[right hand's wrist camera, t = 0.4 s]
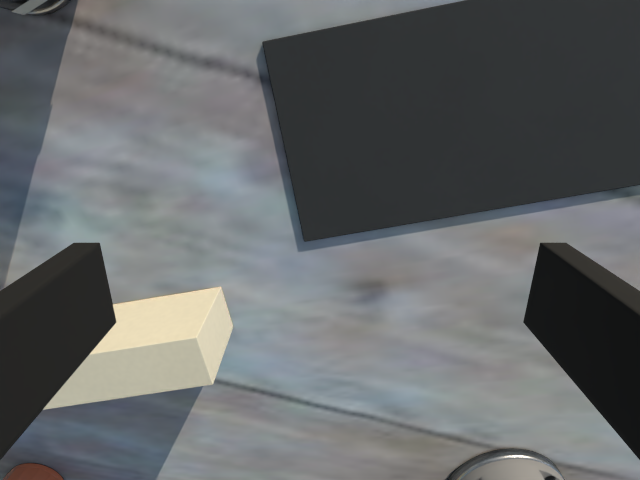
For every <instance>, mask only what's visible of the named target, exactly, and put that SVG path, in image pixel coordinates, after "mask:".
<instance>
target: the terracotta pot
mask: <svg viewBox="0 0 640 480" xmlns="http://www.w3.org/2000/svg"><path fill="white" fill-rule="evenodd" d="M3 480H64V479H63V478H62V477H61V475H59V474H58V473H57V472H56V471H54V470H53V469H51V468H49V467H47V466H44V465H41V464H35V463H25V464H20V465H18V466H16V467H14V468H13V469H12V470H10V472H9V473H8V474H7V475H6V476H5V477H4V479H3Z"/></svg>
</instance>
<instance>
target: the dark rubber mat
mask: <svg viewBox="0 0 640 480" xmlns="http://www.w3.org/2000/svg"><path fill="white" fill-rule="evenodd" d="M263 47H264V52H265V57H266V61H267V66H268V71H269V76H270V80H271V85H272V90H273V95H274V99H275V104H276V109H277V114H278V118H279V123H280V128H281V133H282V137H283V142H284V147H285V152H286V156H287V161H288V166H289V171H290V175H291V180H292V185H293V190H294V194H295V199H296V204H297V209H298V213H299V218H300V223H301V228H302V232H303V237H304V241H311V240H317V239H323V238H328V237H334V236H340V235H346V234H352V233H358V232H364V231H370V230H376V229H381V228H387V227H393V226H399V225H405V224H411V223H417V222H423V221H429V220H434V219H440V218H446V217H452V216H458V215H464V214H470V213H476V212H482V211H487V210H493V209H499V208H505V207H511V206H517V205H523V204H529V203H535V202H540V201H546V200H552V199H558V198H564V197H570V196H576V195H582V194H588V193H593V192H599V191H605V190H611V189H617V188H623V187H629V186H635V185H640V0H465V1H460V2H455V3H450V4H445V5H441V6H436V7H431V8H426V9H421V10H416V11H411V12H406V13H401V14H396V15H391V16H387V17H382V18H377V19H372V20H367V21H362V22H357V23H352V24H347V25H342V26H337V27H333V28H328V29H323V30H318V31H313V32H308V33H303V34H298V35H293V36H288V37H283V38H279V39H274V40H269V41H264V42H263Z"/></svg>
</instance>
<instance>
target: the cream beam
mask: <svg viewBox="0 0 640 480" xmlns="http://www.w3.org/2000/svg"><path fill="white" fill-rule="evenodd" d="M113 308H114V313H115V317H116V324H115V325H114V326H113V327H112V328H111V329H110V331H109V332H108V333H107V334H106V335H105V337H104V338H103V339H102V340H101V341H100V342H99V344H98V345H97V346H96V347H95V348H94V350H93V351H92V352H91V353H90V354H89V355H88V357H87V358H86V359H85V360H84V361H83V363H82V364H81V365H80V366H79V367H78V368H77V370H76V371H75V372H74V373H73V374H72V376H71V377H70V378H69V379H68V380H67V381H66V383H65V384H64V385H63V386H62V387H61V389H60V390H59V391H58V392H57V393H56V394H55V396H54V397H53V398H52V399H51V400H50V402H49V403H48V404H47V405H46V406H45V407H44V409H43V410H45V409H52V408H59V407H65V406H72V405H79V404H86V403H92V402H99V401H106V400H113V399H119V398H126V397H133V396H139V395H146V394H153V393H160V392H166V391H173V390H180V389H187V388H193V387H200V386H207V385H213V383H214V380H215V377H216V374H217V371H218V369H219V366H220V363H221V360H222V357H223V354H224V352H225V349H226V346H227V343H228V340H229V337H230V335H231V332H232V329H233V325H232V321H231V318H230V315H229V311H228V308H227V305H226V302H225V298H224V295H223V292H222V288H221V287H217V288H210V289H204V290H198V291H192V292H186V293H180V294H174V295H168V296H162V297H156V298H150V299H144V300H138V301H132V302H125V303H119V304H113Z"/></svg>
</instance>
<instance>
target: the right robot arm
mask: <svg viewBox="0 0 640 480" xmlns="http://www.w3.org/2000/svg"><path fill="white" fill-rule="evenodd" d="M115 324H116V317H115V313H114V308H113V303H112V299H111V294H110V289H109V284H108V280H107V275H106V270H105V266H104V261H103V256H102V251H101V247H100V243H73V244H71V245H70V246H68V247H67V248H65V249H64V250H62V251H61V252H59V253H58V254H56V255H55V256H53V257H52V258H50V259H49V260H47V261H46V262H44V263H42V264H41V265H39V266H38V267H36V268H35V269H33V270H32V271H30V272H29V273H27V274H26V275H24V276H23V277H21V278H20V279H18V280H17V281H15V282H13V283H12V284H10V285H9V286H7V287H6V288H4V289H3V290H1V291H0V459H1V458H2V457H3V456H4V455H5V454H6V452H7V451H8V450H9V449H10V448H11V446H12V445H13V444H14V443H15V442H16V441H17V439H18V438H19V437H20V436H21V435H22V433H23V432H24V431H25V430H26V429H27V428H28V426H29V425H30V424H31V423H32V422H33V420H34V419H35V418H36V417H37V416H38V415H39V413H40V412H41V411H42V410H43V409H44V407H45V406H46V405H47V404H48V403H49V402H50V400H51V399H52V398H53V397H54V396H55V394H56V393H57V392H58V391H59V390H60V389H61V387H62V386H63V385H64V384H65V383H66V381H67V380H68V379H69V378H70V377H71V376H72V374H73V373H74V372H75V371H76V370H77V368H78V367H79V366H80V365H81V364H82V363H83V361H84V360H85V359H86V358H87V357H88V355H89V354H90V353H91V352H92V351H93V350H94V348H95V347H96V346H97V345H98V344H99V342H100V341H101V340H102V339H103V338H104V337H105V335H106V334H107V333H108V332H109V331H110V329H111V328H112V327H113V326H114V325H115ZM524 324H525V325H526V326H527V327H528V328H529V329H530V331H531V332H532V333H533V334H534V335H535V337H536V338H537V339H538V340H539V341H540V342H541V344H542V345H543V346H544V347H545V348H546V350H547V351H548V352H549V353H550V354H551V355H552V357H553V358H554V359H555V360H556V361H557V363H558V364H559V365H560V366H561V367H562V368H563V370H564V371H565V372H566V373H567V374H568V376H569V377H570V378H571V379H572V380H573V381H574V383H575V384H576V385H577V386H578V387H579V389H580V390H581V391H582V392H583V393H584V394H585V396H586V397H587V398H588V399H589V400H590V402H591V403H592V404H593V405H594V406H595V407H596V409H597V410H598V411H599V412H600V413H601V415H602V416H603V417H604V418H605V419H606V420H607V422H608V423H609V424H610V425H611V426H612V428H613V429H614V430H615V431H616V432H617V433H618V435H619V436H620V437H621V438H622V439H623V441H624V442H625V443H626V444H627V445H628V446H629V448H630V449H631V450H632V451H633V452H634V454H635V455H636V456H637V457H638V458H639V459H640V291H639V290H637V289H636V288H634V287H633V286H631V285H630V284H628V283H627V282H625V281H623V280H622V279H620V278H619V277H617V276H616V275H614V274H613V273H611V272H610V271H608V270H607V269H605V268H604V267H602V266H601V265H599V264H598V263H596V262H594V261H593V260H591V259H590V258H588V257H587V256H585V255H584V254H582V253H581V252H579V251H578V250H576V249H575V248H573V247H572V246H570V245H569V244H567V243H540V247H539V251H538V256H537V261H536V266H535V270H534V275H533V280H532V284H531V289H530V294H529V299H528V303H527V308H526V313H525V317H524ZM448 480H564V478H563V476H562V475H561V473H560V471H559V470H558V468H557V467H556V465H555V464H554V463H553V462H552V461H550V460H549V459H548V458H546V457H545V456H543V455H541V454H538V453H536V452H533V451H529V450H523V449H501V450H495V451H490V452H487V453H484V454H481V455H478V456H476V457H474V458H472V459H470V460H469V461H467V462H465V463H464V464H462V465H461V466H460V467H459V468H458V469H457V470H456V471H455V472H454V473H453V474H452V475H451V476H450V478H449V479H448Z"/></svg>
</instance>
